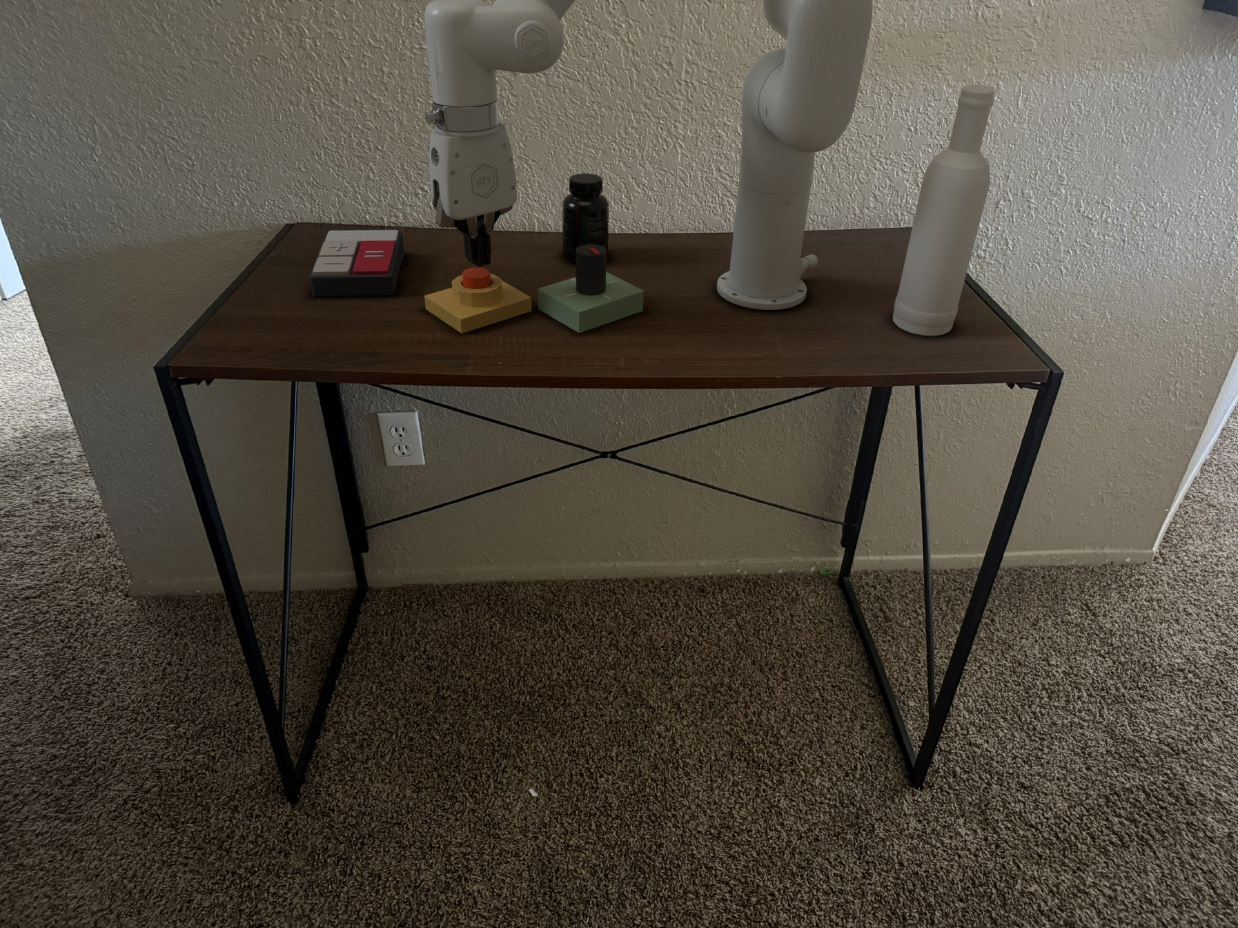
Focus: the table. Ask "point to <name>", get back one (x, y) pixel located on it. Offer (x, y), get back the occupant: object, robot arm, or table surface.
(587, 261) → the lock dial
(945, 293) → the bottle
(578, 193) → the supplement bottle
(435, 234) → the table surface
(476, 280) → the button
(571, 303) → the dial panel
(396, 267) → the calculator
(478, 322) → the tan flat block
